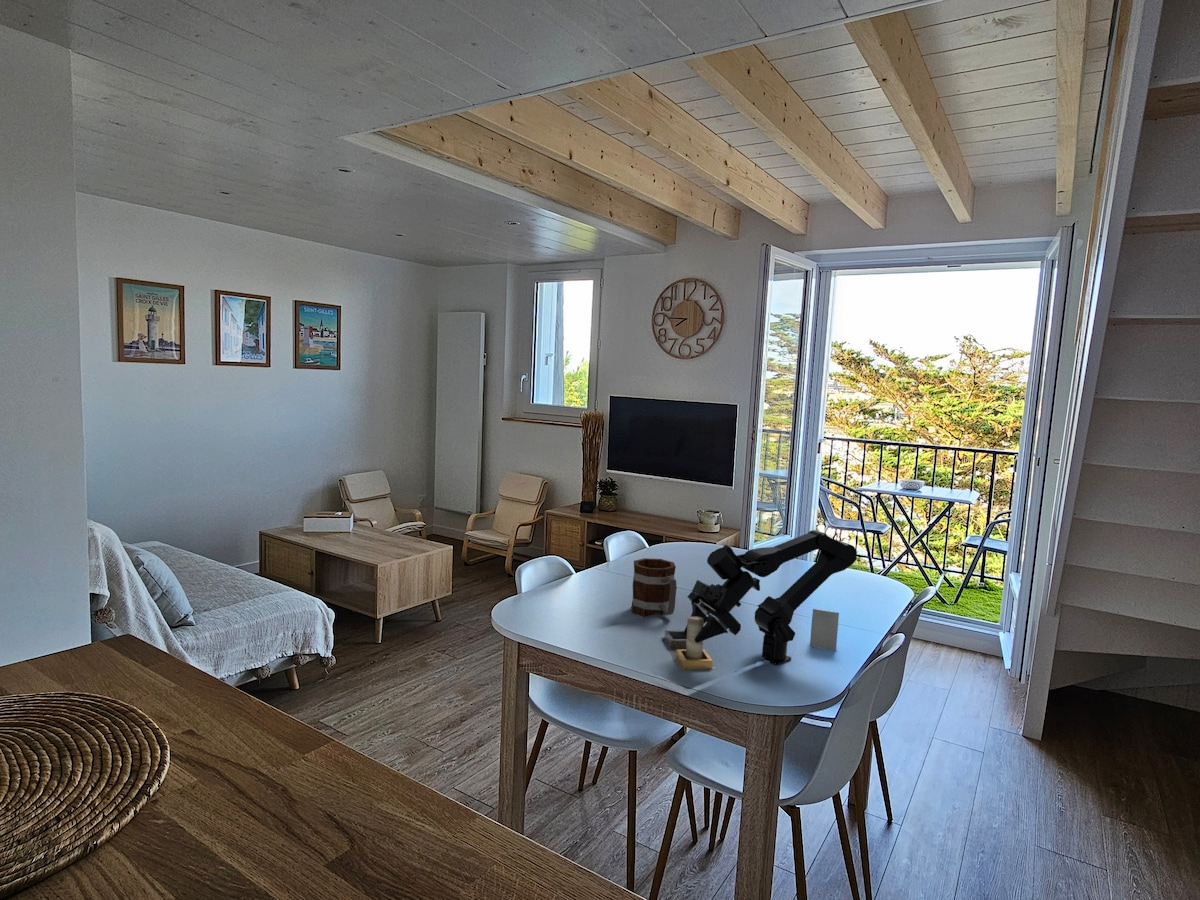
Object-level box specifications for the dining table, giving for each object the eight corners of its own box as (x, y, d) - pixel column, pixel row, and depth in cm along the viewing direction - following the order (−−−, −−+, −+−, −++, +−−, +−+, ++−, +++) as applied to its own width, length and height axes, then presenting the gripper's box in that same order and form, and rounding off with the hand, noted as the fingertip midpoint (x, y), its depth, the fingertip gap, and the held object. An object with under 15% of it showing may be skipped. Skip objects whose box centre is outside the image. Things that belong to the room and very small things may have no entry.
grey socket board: (660, 641, 189) (661, 630, 189) (692, 641, 190) (693, 630, 190) (679, 674, 168) (680, 661, 168) (715, 673, 170) (716, 660, 169)
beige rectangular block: (835, 650, 188) (838, 614, 187) (809, 646, 191) (812, 610, 190) (836, 646, 192) (839, 610, 191) (810, 641, 194) (813, 607, 193)
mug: (622, 606, 218) (625, 559, 216) (660, 602, 223) (663, 556, 222) (651, 627, 200) (654, 576, 198) (692, 623, 205) (695, 573, 204)
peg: (687, 658, 175) (688, 615, 175) (703, 660, 174) (704, 617, 174) (684, 663, 171) (686, 619, 171) (700, 665, 170) (702, 621, 170)
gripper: (696, 560, 181) (655, 604, 178) (732, 580, 163) (687, 629, 160) (721, 588, 184) (681, 631, 181) (759, 610, 166) (715, 659, 164)
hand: (690, 637), depth 172 cm, fingers open, 5 cm apart
